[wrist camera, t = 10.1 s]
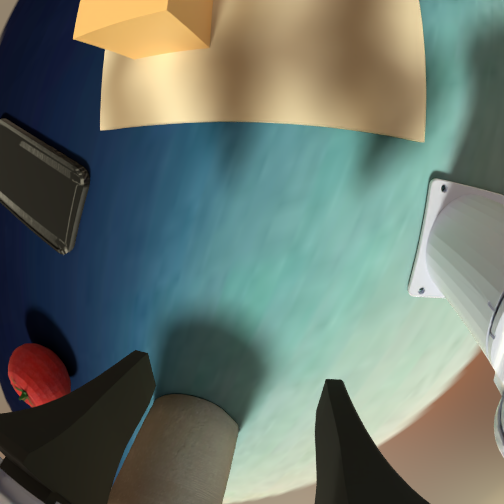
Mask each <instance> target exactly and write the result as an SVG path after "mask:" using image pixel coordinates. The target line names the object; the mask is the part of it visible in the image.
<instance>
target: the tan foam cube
mask: <svg viewBox="0 0 504 504" xmlns="http://www.w3.org/2000/svg"><path fill="white" fill-rule="evenodd" d="M212 8H213V0H81V1H80V5H79V10H78V14H77V19H76V25H75V30H74V36H73V39H74V40H78V41H81V42H85V43H88V44H91V45H94V46H97V47H100V48H103V49H106V50H109V51H112V52H115V53H118V54H121V55H123V56H126V57H129V58H131V59H134V60H135V59H139V58H144V57H149V56H155V55H160V54H166V53H172V52H179V51H187V50H195V49H205V48H210V34H211V20H212Z"/></svg>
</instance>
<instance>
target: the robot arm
mask: <svg viewBox="0 0 504 504" xmlns="http://www.w3.org/2000/svg"><path fill="white" fill-rule="evenodd" d="M443 184H444V185H445V190H444V191H441V187H442V185H443ZM422 287H423V289H422V290H421V291H419V289H420V288H422ZM408 293H409V294H410V295H411V296H413V297H431V298H446V299H447V301H448V302H449V303H450V305H451V306H452V307H453V309H454V310H455V311H456V313H457V314H458V316H459V317H460V318H461V320H462V321H463V323H464V324H465V325H466V327H467V328H468V330H469V331H470V333H471V334H472V336H473V337H474V339H475V340H476V342H477V343H478V345H479V346H480V348H481V349H482V351H483V352H484V354H485V355H486V357H487V359H488V360H489V362H490V363H491V365H492V367H493V368H494V370H495V377H494V382H495V384H496V386H497V387H498V390H499V391H500V393H501V395H502V398H501V400H500V402H499V405H498V407H497V410H496V414H495V420H494V434H495V439H496V443H497V445H498V448H499V451H500V452H501V454H502V455H503V457H504V195H502V194H498V193H495V192H491V191H488V190H484V189H480V188H476V187H472V186H468V185H464V184H460V183H456V182H451V181H447V180H442V179H437V178H434V179H432V180H431V181H430V184H429V189H428V196H427V203H426V209H425V215H424V220H423V225H422V231H421V236H420V240H419V245H418V249H417V254H416V258H415V262H414V266H413V270H412V274H411V278H410V281H409V285H408ZM155 387H156V384H155V380H154V376H153V372H152V368H151V364H150V360H149V356H148V353H145V352H141V351H137V350H135V351H133V352H132V353H130V354H129V355H128V356H126V357H125V358H123V359H122V360H121V361H119V362H118V363H117V364H115V365H114V366H112V367H111V368H109V369H108V370H107V371H105V372H104V373H102V374H101V375H99V376H98V377H96V378H95V379H93V380H91V381H90V382H88V383H86V384H85V385H83V386H82V387H80V388H78V389H76V390H74V391H73V392H71V393H69V394H67V395H64V396H62V397H60V398H58V399H55V400H53V401H50V402H48V403H45V404H42V405H39V406H36V407H33V408H29V409H25V410H21V411H16V412H9V413H2V414H0V451H1V452H2V453H3V454H4V455H5V456H6V457H5V458H4V460H3V459H2V458H1V457H0V504H107V503H108V499H109V495H110V491H111V487H112V484H113V480H114V477H115V474H116V471H117V468H118V466H119V463H120V460H121V458H122V455H123V452H124V450H125V448H126V446H127V444H128V442H129V440H130V438H131V436H132V434H133V433H134V431H135V429H136V427H137V425H138V424H139V422H140V420H141V418H142V416H143V414H144V413H145V411H146V409H147V407H148V405H149V403H150V400H151V398H152V395H153V392H154V390H155ZM315 446H316V471H317V486H316V497H315V504H430V503H429V502H427V501H426V500H425V499H423V498H422V497H421V496H420V495H419V494H418V493H417V492H415V491H414V490H413V489H412V488H411V487H410V486H409V485H408V484H407V483H406V482H405V481H404V480H403V479H402V478H401V477H400V476H399V475H398V473H396V471H395V470H394V469H393V468H392V467H391V466H390V464H389V463H388V462H387V460H386V459H385V458H384V457H383V455H382V454H381V452H380V451H379V449H378V448H377V446H376V445H375V443H374V442H373V440H372V439H371V437H370V435H369V434H368V432H367V430H366V429H365V427H364V425H363V423H362V421H361V419H360V418H359V416H358V414H357V412H356V410H355V408H354V406H353V404H352V401H351V399H350V397H349V395H348V392H347V390H346V388H345V385H344V382H343V381H342V380H335V379H326V381H325V384H324V387H323V391H322V394H321V397H320V400H319V404H318V407H317V410H316V423H315Z"/></svg>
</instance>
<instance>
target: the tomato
mask: <svg viewBox="0 0 504 504" xmlns="http://www.w3.org/2000/svg"><path fill="white" fill-rule="evenodd" d="M8 375H9V378H10V381H11V383H12V384H11V385H12V386H13V387H14V389H15V391H16V392H17V393H18V395H19V396H20V397H19V400H22V399H23V401H25V402H26V403H27V404H29V405H30V406H31V407H36V406H39V405H42V404H45V403H48V402H50V401H53V400H55V399H58V398H60V397H62V396H64V395H67V394H69V393H70V392H71V381H70V377H69V375H68V372H67V369H66V367H65V365H64V363H63V362H62V361H61V359H60V358H59V357H58V356H57V355H56V354H55V353H54V352H53V351H51V350H50V349H48V348H46V347H44V346H42V345H39V344H36V343H32V344H24V345H22V346H20V347H18V348H16V349H15V351H14V352H13V354H12V356H11V358H10V361H9V365H8Z"/></svg>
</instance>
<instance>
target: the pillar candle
mask: <svg viewBox="0 0 504 504" xmlns="http://www.w3.org/2000/svg"><path fill="white" fill-rule="evenodd" d="M238 431H239V429H238V425H237V423H236V422H235V421H234V420H233V419H232V418H231V417H230V416H229V415H228V414H227V413H226V412H225V411H224V410H223V409H221V408H220V407H218V406H217V405H215V404H213V403H211V402H209V401H206V400H204V399H200V398H197V397H194V396H189V395H183V394H170V395H165V396H162V397H159V398H157V399H156V400H155V401H154V403H153V405H152V407H151V409H150V411H149V413H148V415H147V416H146V418H145V420H144V422H143V424H142V426H141V428H140V430H139V432H138V434H137V436H136V438H135V441H134V443H133V445H132V447H131V449H130V451H129V453H128V455H127V457H126V459H125V461H124V463H123V466H122V468H121V470H120V472H119V474H118V476H117V478H116V480H115V482H114V485H113V487H112V489H111V491H110V495H109V499H108V503H107V504H222V501H223V497H224V493H225V489H226V485H227V481H228V477H229V473H230V469H231V464H232V459H233V455H234V450H235V446H236V441H237V437H238Z"/></svg>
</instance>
